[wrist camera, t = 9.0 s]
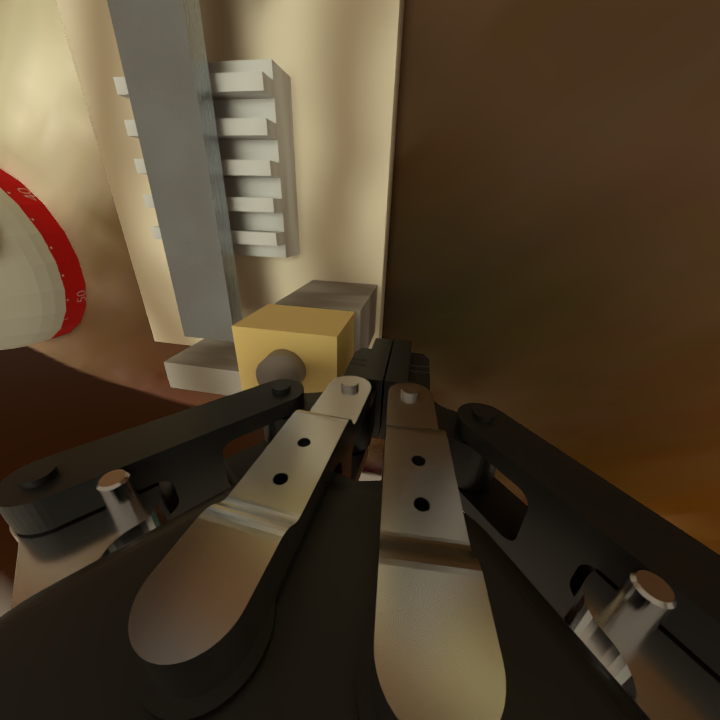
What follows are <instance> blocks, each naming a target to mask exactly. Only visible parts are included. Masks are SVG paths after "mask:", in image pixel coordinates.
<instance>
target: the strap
mask: <svg viewBox="0 0 720 720" xmlns="http://www.w3.org/2000/svg"><path fill="white" fill-rule="evenodd" d="M107 3H108V7H109V11H110V16H111V20H112V24H113V29H114V33H115V37H116V42H117V46H118V50H119V55H120V59H121V64H122V68H123V72H124V77H125V81H126V85H127V90H128V94H129V98H130V103H131V107H132V111H133V116H134V120H135V124H136V129H137V133H138V137H139V142H140V146H141V150H142V155H143V159H144V163H145V168H146V172H147V176H148V181H149V185H150V189H151V194H152V198H153V202H154V207H155V211H156V215H157V220H158V224H159V228H160V233H161V237H162V241H163V246H164V250H165V254H166V259H167V263H168V267H169V272H170V276H171V280H172V285H173V289H174V293H175V298H176V302H177V306H178V311H179V315H180V319H181V324H182V328H183V332H184V336H186V337H195V338H204V339H212V340H221V341H230V342H234V338H233V332H232V325H234V324H236V323H237V322H239V321H241V320H242V319H243V316H242V309H241V302H240V295H239V287H238V280H237V273H236V266H235V258H234V251H233V244H232V237H231V229H230V222H229V215H228V208H227V200H226V193H225V186H224V179H223V172H222V164H221V157H220V150H219V143H218V135H217V128H216V121H215V114H214V106H213V99H212V92H211V85H210V77H209V70H208V63H207V56H206V48H205V41H204V34H203V27H202V19H201V12H200V5H199V0H107Z"/></svg>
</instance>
